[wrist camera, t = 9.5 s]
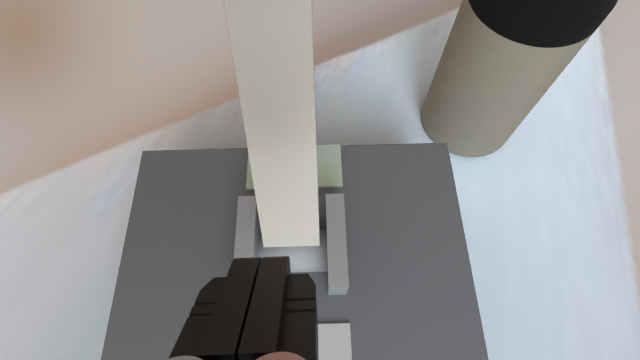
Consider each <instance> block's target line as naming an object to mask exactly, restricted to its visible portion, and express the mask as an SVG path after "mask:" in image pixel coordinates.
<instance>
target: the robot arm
mask: <svg viewBox="0 0 640 360" xmlns="http://www.w3.org/2000/svg"><path fill="white" fill-rule="evenodd" d="M167 360H318V319H317V300H316V284H315V283H314V281H313V280H312V278H311V277H310V276H309V274H308V273H304V274H291V269H290V259H289V256H272V257H262V258H261V257H250V258H234V259H233V261H232V263H231V266H230V268H229V271H228V274H227V276H226V277H214V278H213V279H212V280H210V281H209V282H208V283H207V284H206V285H205V286H204V287H203V288H202V289H201V290H200V292H199V294H198V296H197V298H196V301H195V303H194V306H193V307H192V309H191V311H190V313H189V317H188V318H187V320H186V322H185V324H184V326H183V328H182V330H181V333H180V335H179V337H178V339H177V341H176V343H175V345H174V348H173V350H172V352H171V354H170V356H169V358H168V359H167Z"/></svg>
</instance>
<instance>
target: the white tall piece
mask: <svg viewBox="0 0 640 360" xmlns="http://www.w3.org/2000/svg"><path fill="white" fill-rule="evenodd" d="M224 5H225V11H226V18H227V23H228V30H229V36H230V42H231V49H232V55H233V61H234V66H235V72H236V80H237V86H238V92H239V98H240V104H241V110H242V117H243V123H244V129H245V135H246V141H247V147H248V154H249V160H250V166H251V172H252V178H253V185H254V191H255V197H256V203H257V209H258V215H259V222H260V228H261V234H262V240H263V246H264V247H294V246H320V236H319V198H318V168H317V137H316V107H315V76H314V46H313V18H312V16H313V15H312V0H224Z"/></svg>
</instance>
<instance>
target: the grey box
mask: <svg viewBox="0 0 640 360" xmlns="http://www.w3.org/2000/svg"><path fill="white" fill-rule="evenodd" d="M317 168H318V198H319V236H320V246H294V247H264V246H263V240H262V234H261V228H260V222H259V215H258V209H257V203H256V197H255V191H254V185H253V178H252V172H251V166H250V160H249V154H248V148H237V149H200V150H163V151H143V153H142V158H141V163H140V168H139V173H138V178H137V183H136V188H135V193H134V198H133V203H132V208H131V213H130V218H129V223H128V228H127V233H126V238H125V243H124V248H123V253H122V258H121V263H120V268H119V273H118V278H117V283H116V287H115V292H114V297H113V302H112V307H111V312H110V317H109V322H108V327H107V332H106V337H105V342H104V347H103V352H102V357H101V360H167V359H168V358H169V356H170V354H171V352H172V350H173V348H174V345H175V343H176V341H177V339H178V337H179V335H180V333H181V330H182V328H183V326H184V324H185V322H186V320H187V318H188V317H189V313H190V311H191V309H192V307H193V306H194V303H195V301H196V298H197V296H198V294H199V292H200V290H201V289H202V288H203V287H204V286H205V285H206V284H207V283H208V282H209V281H210V280H212V279H213V278H214V277H226V276H227V274H228V271H229V268H230V266H231V263H232V261H233V259H234V258H250V257H261V258H262V257H272V256H289V259H290V269H291V274H304V273H308V274H309V276H310V277H311V278H312V280H313V281H314V283H315V284H316V300H317V319H318V360H488V355H487V350H486V344H485V339H484V334H483V329H482V323H481V318H480V313H479V308H478V302H477V297H476V292H475V287H474V282H473V276H472V271H471V266H470V261H469V255H468V250H467V245H466V240H465V234H464V229H463V224H462V219H461V214H460V208H459V203H458V198H457V193H456V187H455V182H454V177H453V172H452V166H451V161H450V156H449V151H448V146H447V143H423V144H386V145H349V146H341V144H328V145H317Z"/></svg>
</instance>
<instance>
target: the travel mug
mask: <svg viewBox="0 0 640 360" xmlns="http://www.w3.org/2000/svg"><path fill="white" fill-rule="evenodd" d="M617 1H618V0H463V1H462V3H461V6H460V9H459V11H458V14H457V17H456V19H455V22H454V25H453V27H452V30H451V33H450V35H449V38H448V40H447V43H446V46H445V48H444V51H443V54H442V56H441V59H440V62H439V64H438V67H437V70H436V72H435V75H434V78H433V80H432V83H431V86H430V88H429V91H428V94H427V96H426V99H425V102H424V104H423V107H422V113H421V117H422V123H423V126H424V129H425V131H426V132H427V134H428V135H429V137H430V138H431V139H432V140H433V141H434V142H435V143H447V146H448V151H449V152H451V153H453V154H456V155H460V156H466V157H479V156H485V155H488V154H490V153H493V152H495V151H496V150H498V149H499V148H500V147H501V146H502V145H503V144H504V143H505V142H506V141H507V139H508V138H509V137H510V136H511V134H512V133H513V132H514V131H515V129H516V128H517V127H518V126H519V124H520V123H521V122H522V121H523V120H524V118H525V117H526V116H527V115H528V113H529V112H530V111H531V110H532V108H533V107H534V106H535V105H536V103H537V102H538V101H539V100H540V98H541V97H542V96H543V95H544V94H545V92H546V91H547V90H548V89H549V87H550V86H551V85H552V84H553V82H554V81H555V80H556V79H557V77H558V76H559V75H560V74H561V72H562V71H563V70H564V69H565V68H566V66H567V65H568V64H569V63H570V61H571V60H572V59H573V58H574V56H575V55H576V54H577V53H578V51H579V50H580V49H581V48H582V46H583V45H584V44H585V43H586V41H587V40H588V39H589V38H590V37H591V35H592V34H593V33H594V32H595V30H596V29H597V28H598V27H599V25H600V24H601V23H602V22H603V20H604V19H605V18H606V17H607V15H608V14H609V13H610V12H611V10H612V9H613V8H614V6H615V5H616V3H617Z"/></svg>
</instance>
